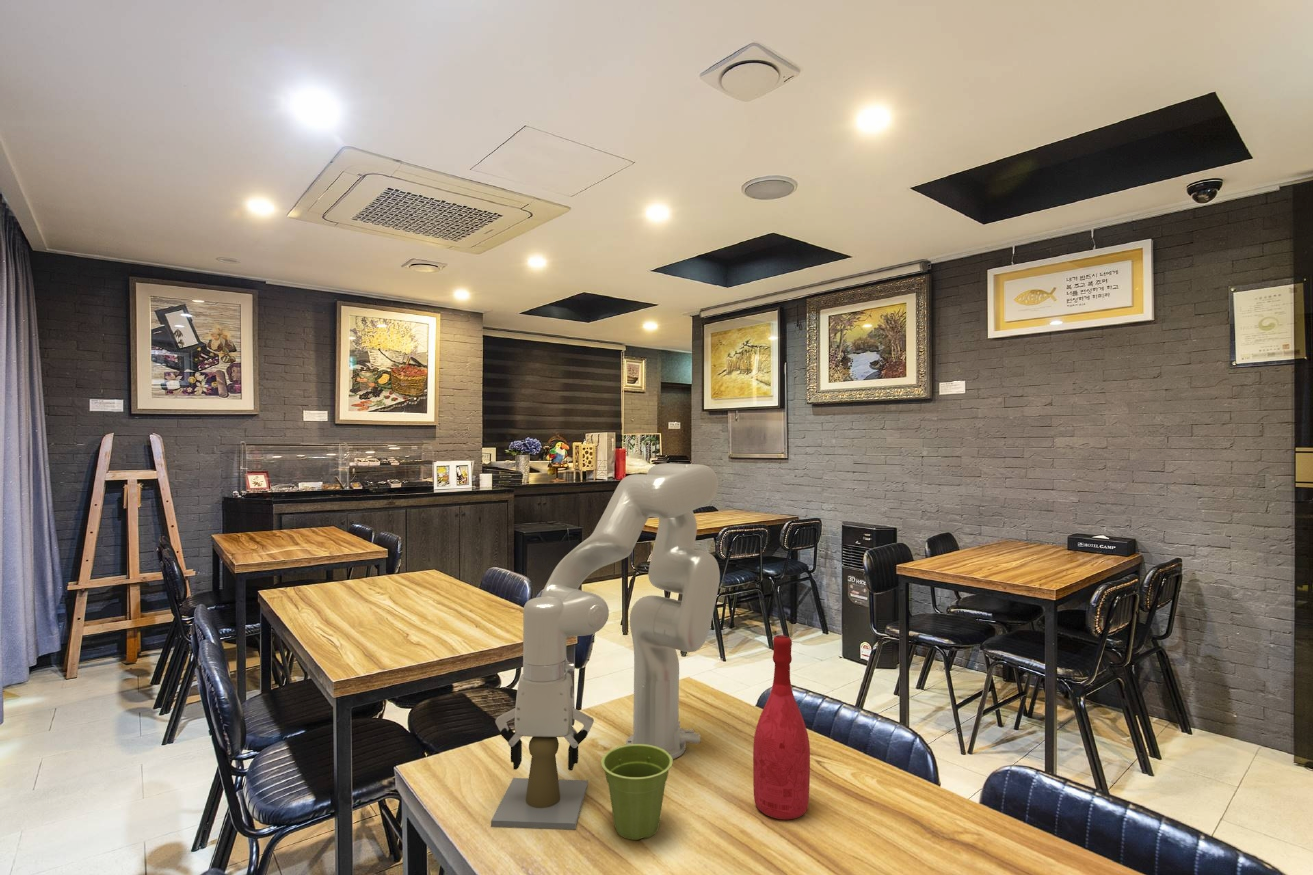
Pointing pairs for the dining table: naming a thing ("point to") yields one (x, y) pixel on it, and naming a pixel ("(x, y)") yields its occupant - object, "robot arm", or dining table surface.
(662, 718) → the robot arm
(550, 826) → the tile
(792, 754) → the wine bottle
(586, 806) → the dining table surface
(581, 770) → the dining table surface
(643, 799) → the plant pot
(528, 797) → the brown pawn
